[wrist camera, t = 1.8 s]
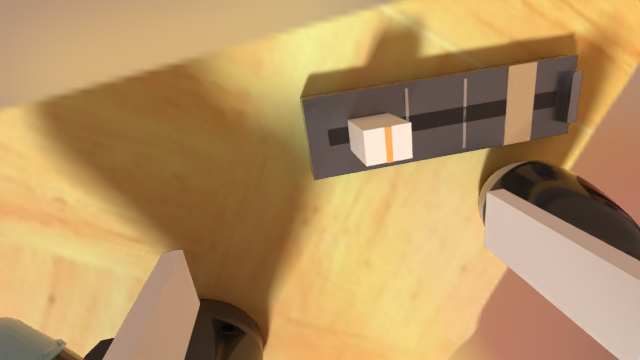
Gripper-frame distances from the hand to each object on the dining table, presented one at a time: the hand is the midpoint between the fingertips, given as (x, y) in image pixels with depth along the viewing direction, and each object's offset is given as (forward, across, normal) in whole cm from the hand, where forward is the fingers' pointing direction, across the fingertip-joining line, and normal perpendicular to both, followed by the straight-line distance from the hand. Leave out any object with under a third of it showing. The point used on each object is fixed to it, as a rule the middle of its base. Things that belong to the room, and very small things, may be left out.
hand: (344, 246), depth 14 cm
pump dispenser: (+21, +23, -10) cm, 33 cm away
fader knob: (+18, +7, 0) cm, 20 cm away
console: (+21, +15, 0) cm, 25 cm away
